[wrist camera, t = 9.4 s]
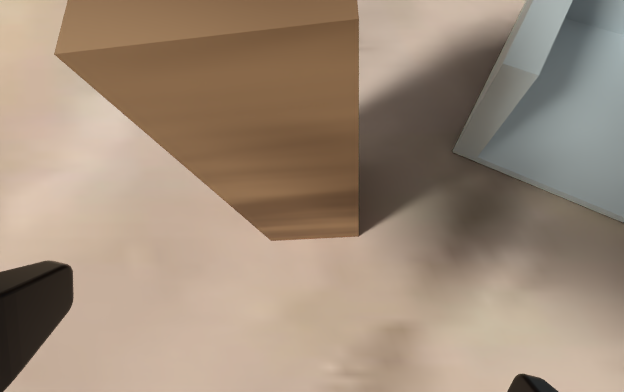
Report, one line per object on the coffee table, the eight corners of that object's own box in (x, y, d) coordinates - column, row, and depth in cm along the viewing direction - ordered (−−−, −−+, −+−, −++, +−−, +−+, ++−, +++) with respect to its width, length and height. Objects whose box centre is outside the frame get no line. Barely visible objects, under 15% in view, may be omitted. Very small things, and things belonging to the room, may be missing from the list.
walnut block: (358, 236, 18) (358, 18, 5) (271, 240, 18) (54, 54, 5) (353, 155, 19) (341, -183, 6) (272, 161, 20) (103, -141, 7)
